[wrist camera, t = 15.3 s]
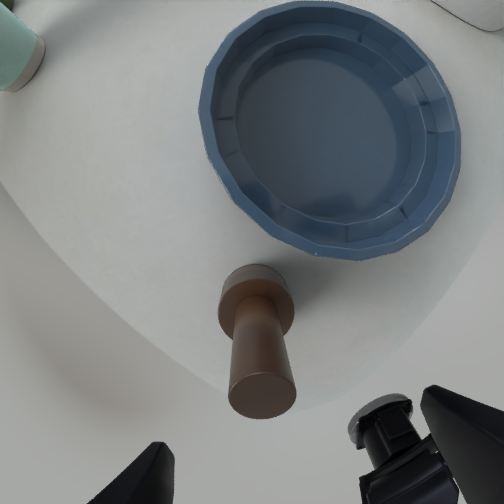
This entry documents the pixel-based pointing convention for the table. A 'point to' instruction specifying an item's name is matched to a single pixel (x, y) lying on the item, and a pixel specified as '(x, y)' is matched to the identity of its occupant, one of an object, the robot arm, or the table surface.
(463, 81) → the table surface
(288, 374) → the muddler
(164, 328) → the table surface
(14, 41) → the coffee cup
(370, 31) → the bowl
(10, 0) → the character mug
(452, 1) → the white wheel
